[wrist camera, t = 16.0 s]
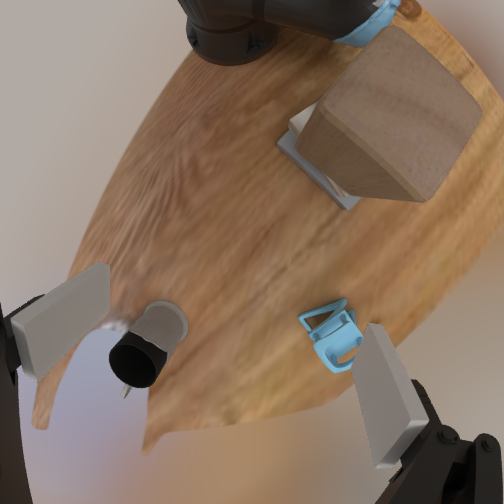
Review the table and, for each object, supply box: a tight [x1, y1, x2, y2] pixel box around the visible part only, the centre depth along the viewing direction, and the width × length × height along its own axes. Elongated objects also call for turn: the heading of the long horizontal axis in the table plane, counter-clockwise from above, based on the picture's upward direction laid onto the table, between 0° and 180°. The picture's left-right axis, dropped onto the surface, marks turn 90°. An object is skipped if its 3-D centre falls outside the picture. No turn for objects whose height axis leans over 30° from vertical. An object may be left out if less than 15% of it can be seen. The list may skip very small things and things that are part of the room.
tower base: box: [277, 99, 361, 211], centre depth 43 cm, size 14×14×5 cm
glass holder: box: [109, 300, 188, 399], centre depth 46 cm, size 9×14×15 cm, turn 152°
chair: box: [299, 298, 363, 373], centre depth 45 cm, size 8×8×12 cm
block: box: [295, 25, 483, 203], centre depth 26 cm, size 10×10×20 cm
